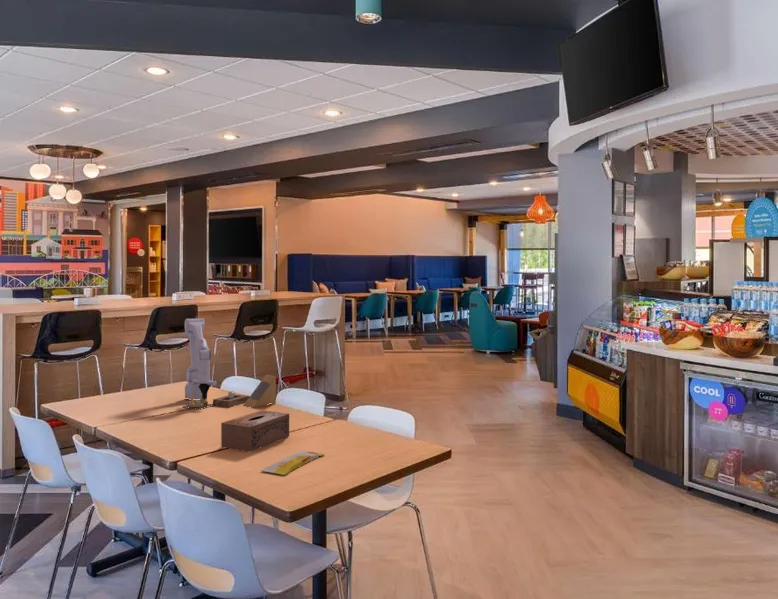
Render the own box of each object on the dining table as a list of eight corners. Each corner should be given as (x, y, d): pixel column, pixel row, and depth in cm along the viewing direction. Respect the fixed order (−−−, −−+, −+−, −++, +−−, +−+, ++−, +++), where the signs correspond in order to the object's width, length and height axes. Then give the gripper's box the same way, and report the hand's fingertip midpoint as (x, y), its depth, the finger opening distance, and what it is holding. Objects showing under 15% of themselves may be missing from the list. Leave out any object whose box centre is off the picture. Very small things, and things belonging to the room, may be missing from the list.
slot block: (212, 405, 323) (212, 399, 323) (232, 399, 337) (232, 394, 337) (230, 407, 318) (229, 401, 318) (249, 401, 333) (249, 395, 333)
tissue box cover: (250, 452, 240) (250, 427, 239) (221, 447, 246) (221, 422, 246) (289, 437, 263) (289, 413, 262) (261, 432, 269) (261, 410, 269)
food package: (284, 471, 211) (260, 467, 216) (284, 478, 211) (260, 474, 216) (325, 451, 236) (303, 447, 240) (325, 456, 236) (303, 453, 240)
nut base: (181, 407, 317) (181, 397, 316) (196, 403, 327) (196, 394, 326) (199, 409, 312) (199, 399, 312) (213, 405, 322) (213, 396, 322)
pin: (227, 403, 327) (227, 392, 327) (230, 402, 330) (230, 391, 329) (231, 404, 326) (231, 392, 326) (235, 403, 329) (235, 391, 328)
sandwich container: (241, 406, 322) (241, 377, 321) (266, 401, 333) (266, 374, 332) (251, 408, 316) (251, 379, 315) (275, 404, 327) (275, 376, 326)
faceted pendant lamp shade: (185, 406, 316) (185, 398, 316) (198, 402, 326) (198, 394, 326) (199, 407, 313) (199, 399, 313) (212, 403, 323) (212, 395, 323)
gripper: (187, 372, 321) (188, 398, 321) (210, 374, 315) (210, 400, 316) (197, 370, 327) (197, 396, 328) (219, 372, 321) (219, 398, 322)
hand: (204, 398), depth 322 cm, fingers closed, pressing on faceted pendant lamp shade
